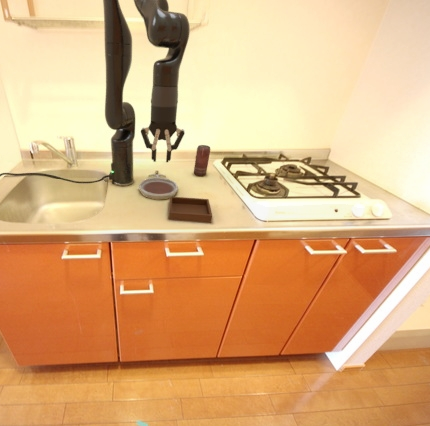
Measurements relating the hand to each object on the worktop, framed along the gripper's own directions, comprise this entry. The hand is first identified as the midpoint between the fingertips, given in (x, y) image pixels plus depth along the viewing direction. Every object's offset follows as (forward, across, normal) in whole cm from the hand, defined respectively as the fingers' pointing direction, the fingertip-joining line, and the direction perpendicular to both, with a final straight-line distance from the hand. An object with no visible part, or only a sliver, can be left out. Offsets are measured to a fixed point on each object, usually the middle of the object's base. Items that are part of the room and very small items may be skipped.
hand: (160, 160), depth 75 cm
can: (+19, -18, -36) cm, 45 cm away
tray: (+19, -12, 0) cm, 22 cm away
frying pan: (+19, +2, -21) cm, 29 cm away
